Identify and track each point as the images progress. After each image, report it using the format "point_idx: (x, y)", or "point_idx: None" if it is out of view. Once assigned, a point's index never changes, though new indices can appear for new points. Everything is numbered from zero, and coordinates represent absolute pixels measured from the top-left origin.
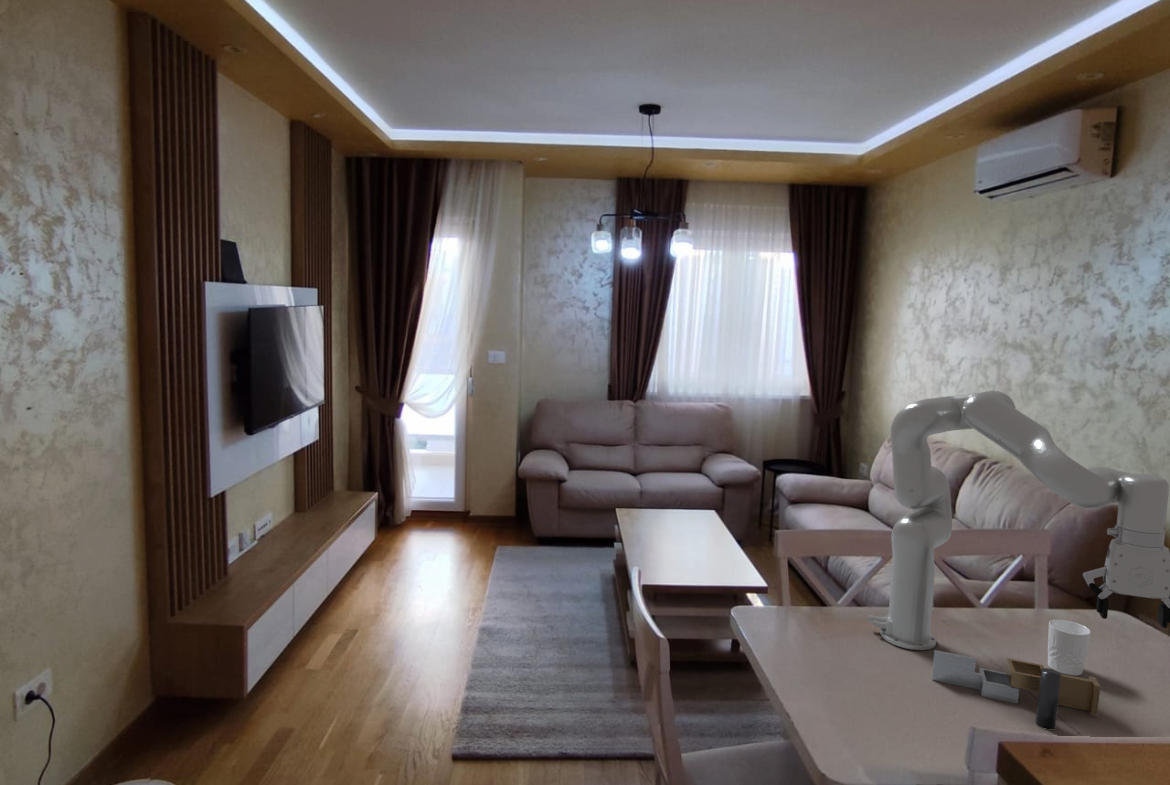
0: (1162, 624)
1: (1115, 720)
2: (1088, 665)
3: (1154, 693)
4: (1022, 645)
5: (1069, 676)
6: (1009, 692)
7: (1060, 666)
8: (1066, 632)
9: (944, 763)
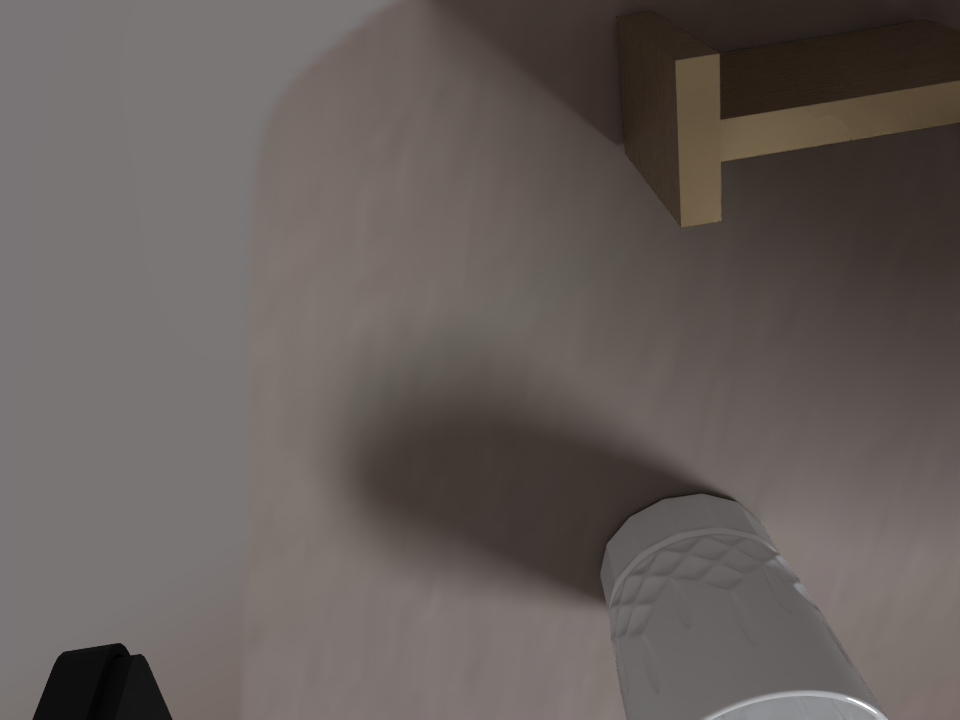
0: (126, 687)
1: (505, 43)
2: (558, 654)
3: (273, 539)
4: None
5: (883, 115)
6: None
7: (733, 519)
8: (820, 692)
9: None
